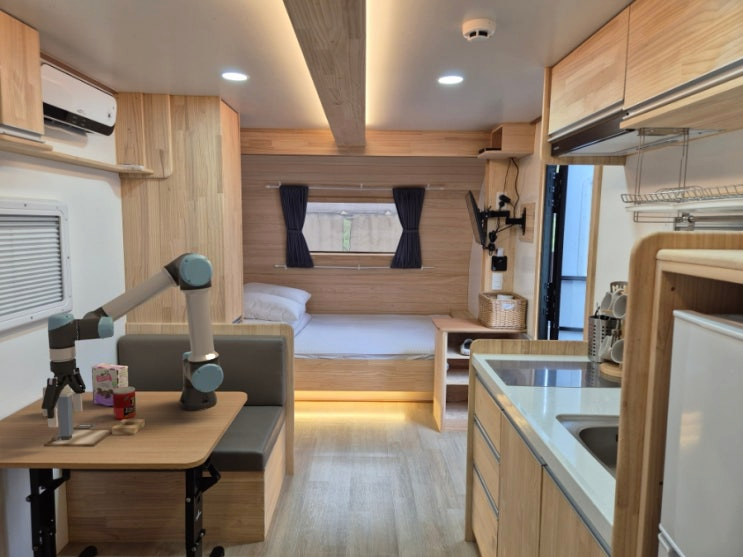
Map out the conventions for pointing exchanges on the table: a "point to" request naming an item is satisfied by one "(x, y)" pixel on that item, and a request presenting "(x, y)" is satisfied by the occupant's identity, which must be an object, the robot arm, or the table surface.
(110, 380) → the candy box
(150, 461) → the table surface
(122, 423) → the pen stand
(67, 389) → the ink box
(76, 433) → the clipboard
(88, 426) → the plate
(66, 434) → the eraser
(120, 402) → the canned food
